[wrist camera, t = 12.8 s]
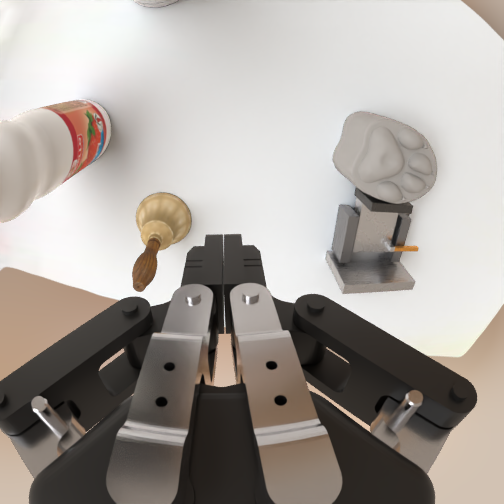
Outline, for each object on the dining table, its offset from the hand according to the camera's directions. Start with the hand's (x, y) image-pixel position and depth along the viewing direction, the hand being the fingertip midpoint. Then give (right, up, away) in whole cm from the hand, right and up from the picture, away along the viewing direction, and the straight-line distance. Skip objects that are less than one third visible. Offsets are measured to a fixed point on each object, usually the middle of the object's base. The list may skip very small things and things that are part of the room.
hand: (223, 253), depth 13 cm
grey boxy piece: (+22, +5, +32) cm, 39 cm away
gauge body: (+20, +3, +33) cm, 39 cm away
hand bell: (-12, +5, +30) cm, 33 cm away
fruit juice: (-22, +17, +22) cm, 35 cm away
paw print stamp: (+19, +15, +27) cm, 36 cm away
